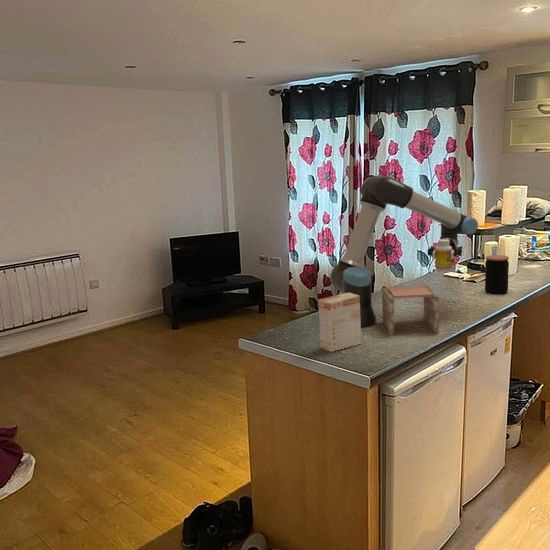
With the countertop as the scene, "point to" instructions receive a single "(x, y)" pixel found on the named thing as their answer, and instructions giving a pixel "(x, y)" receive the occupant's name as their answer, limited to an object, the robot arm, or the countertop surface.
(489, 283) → the coffee jar
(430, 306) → the stand
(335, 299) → the coffeecake box
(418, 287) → the trapdoor
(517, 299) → the countertop surface
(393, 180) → the robot arm
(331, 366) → the countertop surface
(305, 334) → the countertop surface
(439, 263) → the supplement bottle
